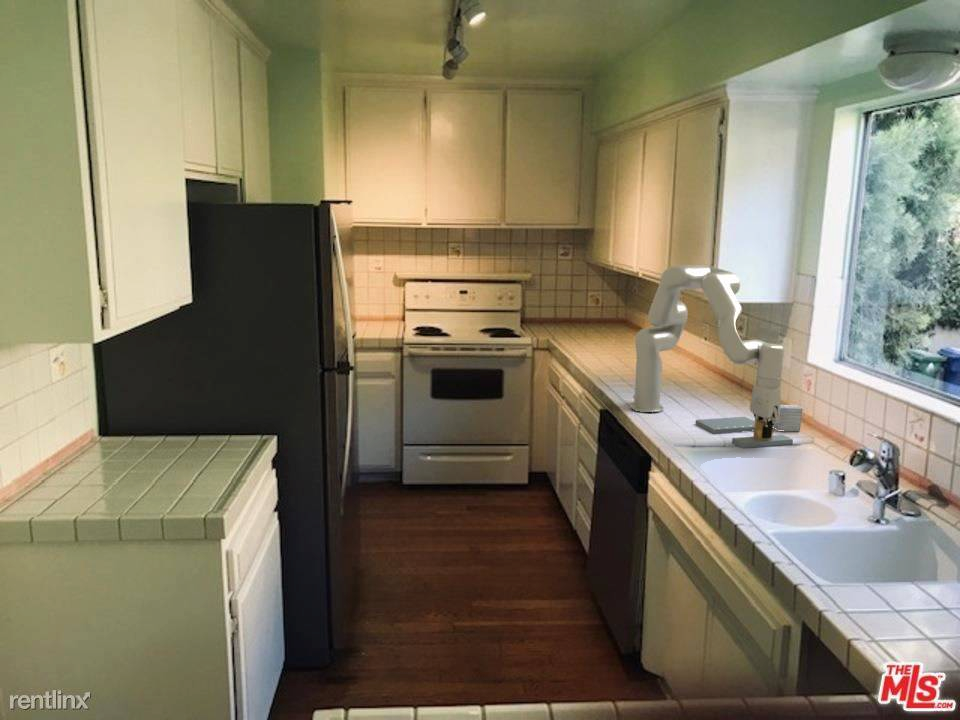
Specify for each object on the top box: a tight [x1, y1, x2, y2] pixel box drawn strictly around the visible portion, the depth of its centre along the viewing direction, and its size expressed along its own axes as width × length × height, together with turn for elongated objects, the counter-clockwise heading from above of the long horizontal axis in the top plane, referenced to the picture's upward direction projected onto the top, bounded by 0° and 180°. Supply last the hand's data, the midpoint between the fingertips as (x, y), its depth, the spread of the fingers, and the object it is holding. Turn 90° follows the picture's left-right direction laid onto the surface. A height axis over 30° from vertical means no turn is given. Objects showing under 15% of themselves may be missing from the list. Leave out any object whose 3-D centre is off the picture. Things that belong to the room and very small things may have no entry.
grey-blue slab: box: [731, 419, 794, 449], centre depth 243 cm, size 6×19×8 cm, turn 105°
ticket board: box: [695, 416, 755, 435], centre depth 261 cm, size 12×20×2 cm, turn 105°
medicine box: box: [773, 404, 804, 432], centre depth 259 cm, size 8×4×9 cm, turn 92°
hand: (762, 435), depth 243 cm, fingers closed on grey-blue slab, 3 cm apart
